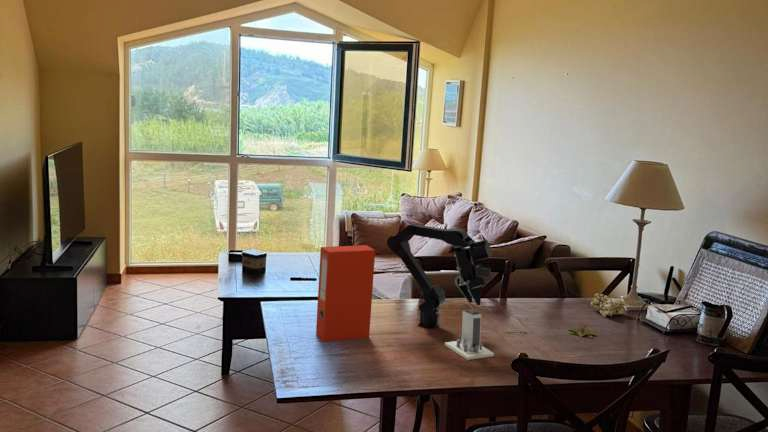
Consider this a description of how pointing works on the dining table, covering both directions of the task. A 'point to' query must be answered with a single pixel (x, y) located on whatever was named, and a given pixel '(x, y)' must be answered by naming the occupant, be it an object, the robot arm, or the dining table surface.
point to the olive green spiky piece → (582, 331)
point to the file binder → (345, 292)
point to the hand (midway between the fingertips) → (474, 303)
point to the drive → (471, 329)
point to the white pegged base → (467, 353)
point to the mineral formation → (608, 305)
